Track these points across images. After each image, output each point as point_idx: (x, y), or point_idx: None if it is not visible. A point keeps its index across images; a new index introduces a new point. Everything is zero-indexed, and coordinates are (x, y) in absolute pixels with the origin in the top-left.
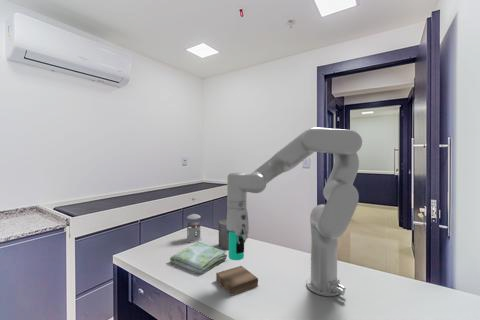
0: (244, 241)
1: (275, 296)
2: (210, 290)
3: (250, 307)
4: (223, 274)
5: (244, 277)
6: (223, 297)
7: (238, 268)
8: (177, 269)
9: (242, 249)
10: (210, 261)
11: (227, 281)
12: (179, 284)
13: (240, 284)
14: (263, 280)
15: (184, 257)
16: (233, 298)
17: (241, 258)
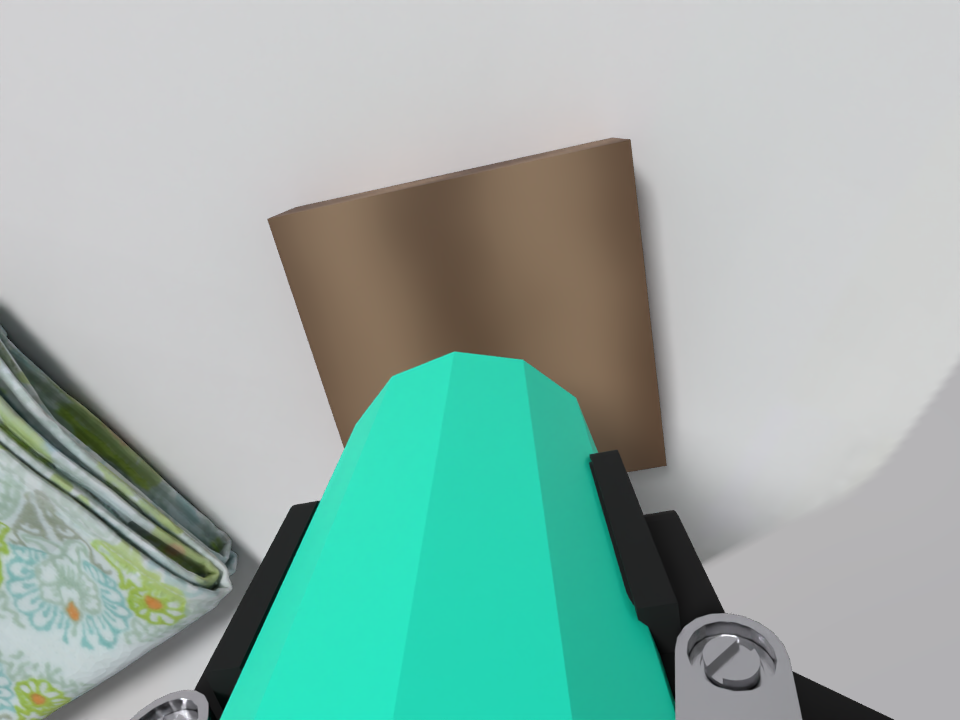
0: (783, 661)
1: (869, 36)
2: None
3: (869, 339)
4: None
5: (553, 287)
6: (644, 484)
7: (332, 279)
8: (129, 691)
9: (681, 539)
10: (120, 522)
11: None
12: None
13: (654, 368)
14: (538, 18)
15: (11, 710)
16: (692, 421)
17: (588, 429)
